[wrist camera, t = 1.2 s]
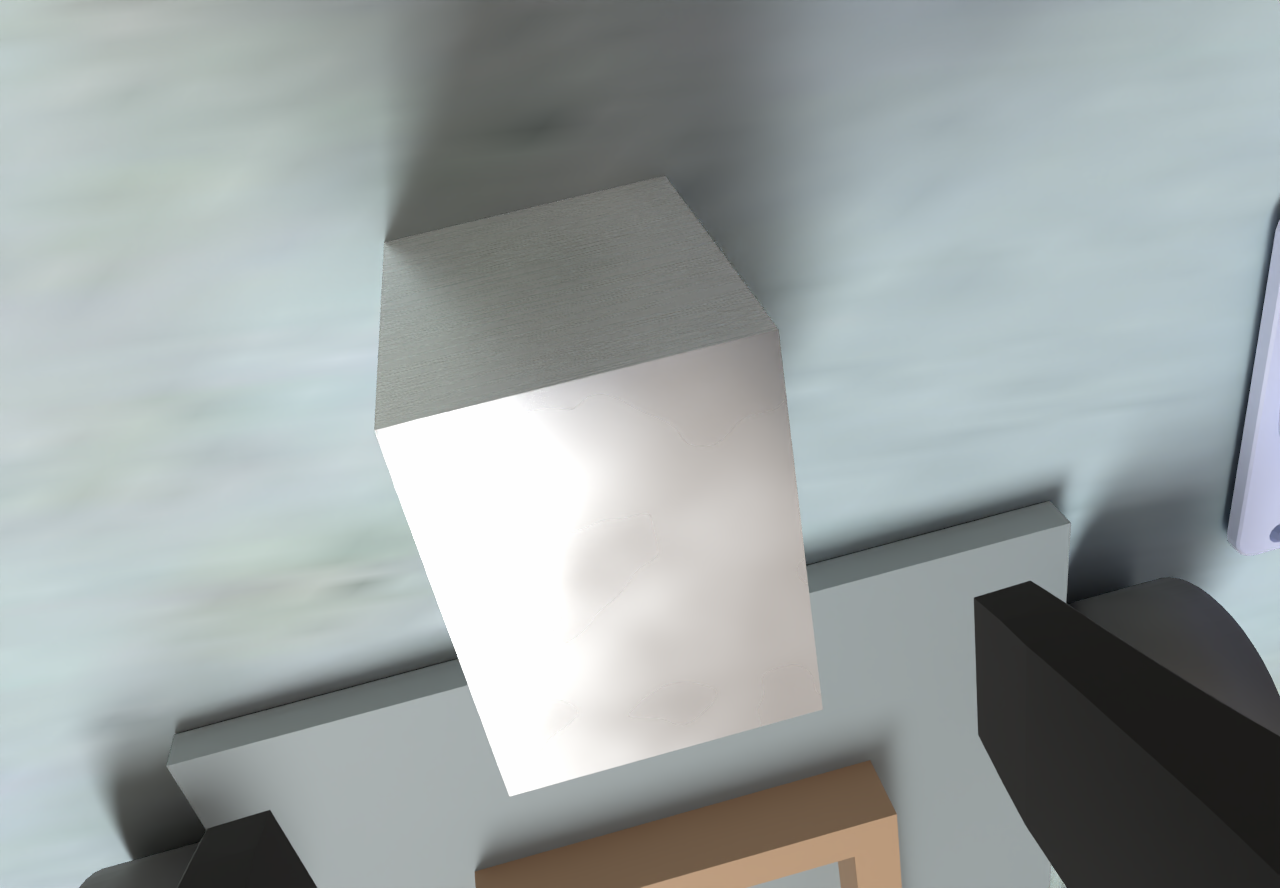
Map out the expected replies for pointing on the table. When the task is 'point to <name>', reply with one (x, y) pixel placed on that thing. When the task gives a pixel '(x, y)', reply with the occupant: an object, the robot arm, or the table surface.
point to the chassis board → (709, 752)
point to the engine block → (598, 479)
